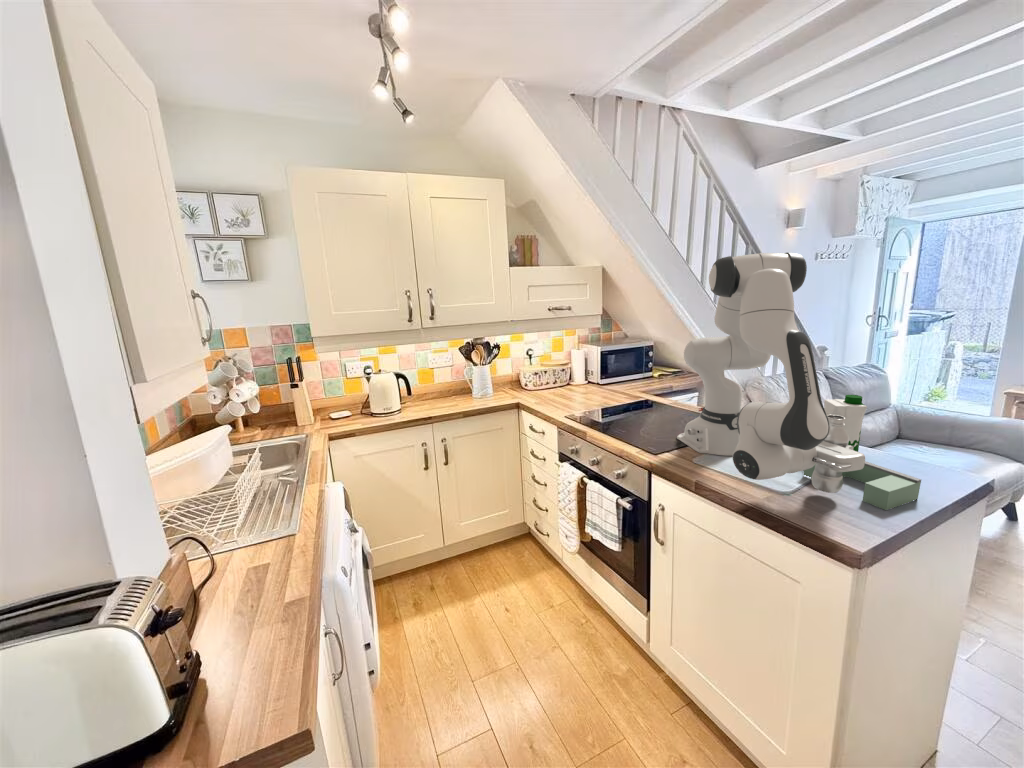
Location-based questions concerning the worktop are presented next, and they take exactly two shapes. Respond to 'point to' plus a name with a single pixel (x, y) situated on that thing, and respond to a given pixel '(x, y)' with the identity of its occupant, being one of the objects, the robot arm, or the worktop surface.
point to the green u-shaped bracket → (883, 485)
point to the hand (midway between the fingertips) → (834, 443)
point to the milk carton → (848, 415)
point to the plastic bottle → (824, 476)
